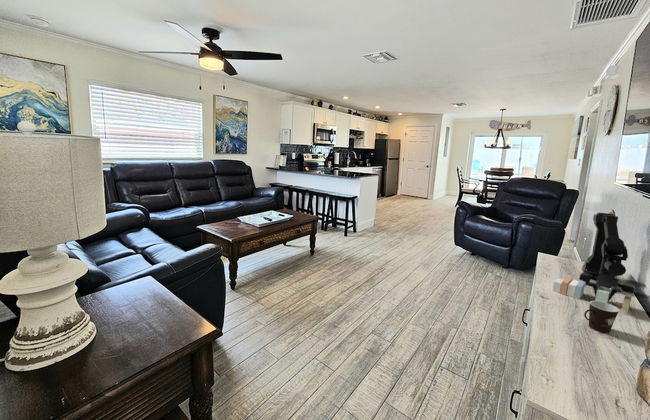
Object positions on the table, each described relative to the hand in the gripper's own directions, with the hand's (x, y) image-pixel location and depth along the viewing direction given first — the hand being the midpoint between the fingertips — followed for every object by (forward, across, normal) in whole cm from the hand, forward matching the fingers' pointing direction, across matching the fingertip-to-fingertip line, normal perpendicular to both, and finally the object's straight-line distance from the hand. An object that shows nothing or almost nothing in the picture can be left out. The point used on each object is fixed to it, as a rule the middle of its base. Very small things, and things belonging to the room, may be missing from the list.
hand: (602, 298), depth 141 cm
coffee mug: (+2, +2, -30) cm, 31 cm away
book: (+1, 0, 0) cm, 1 cm away
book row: (+2, -13, 0) cm, 13 cm away
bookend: (+2, +7, 0) cm, 7 cm away
